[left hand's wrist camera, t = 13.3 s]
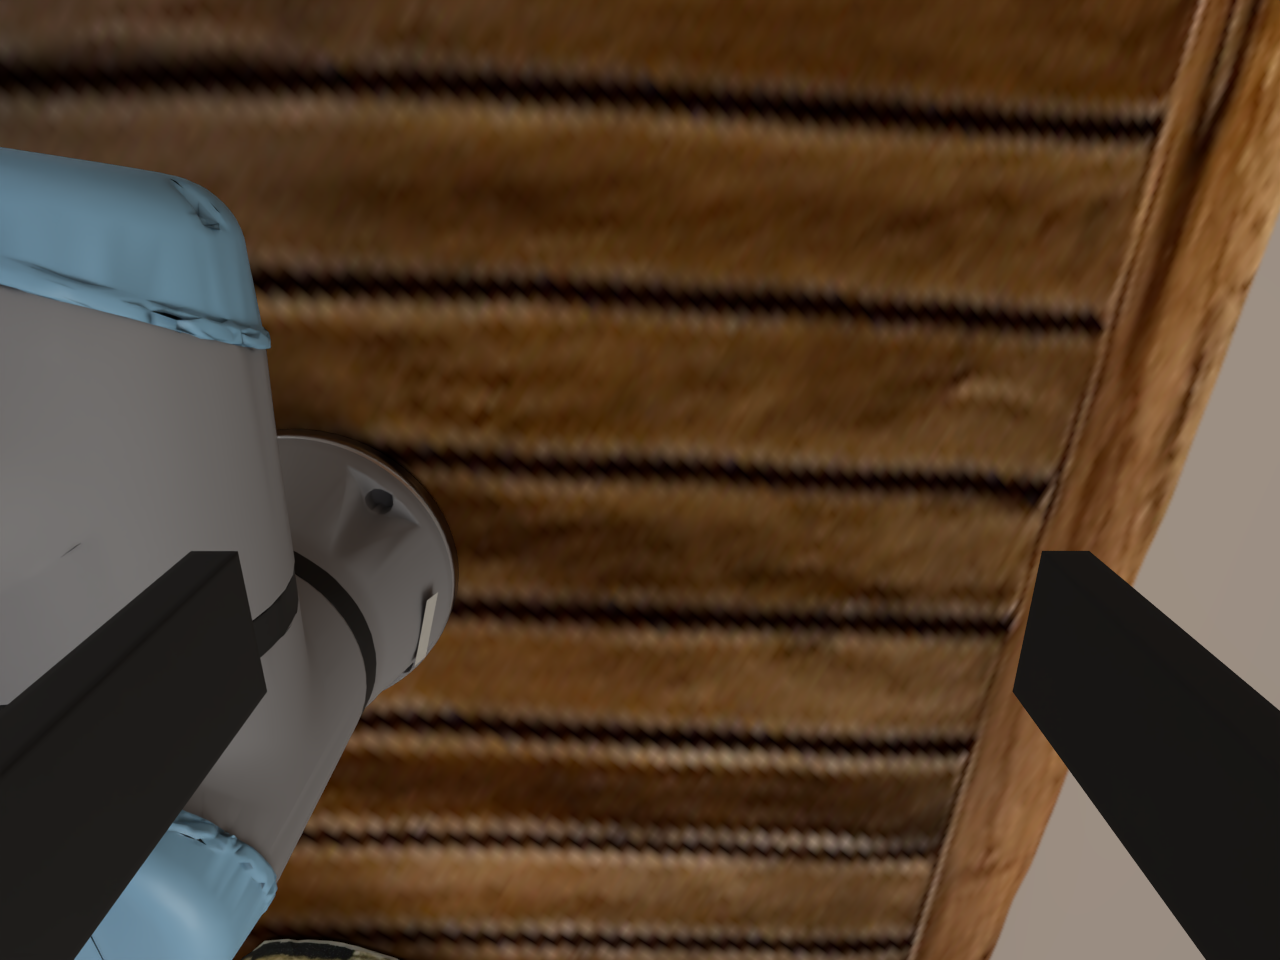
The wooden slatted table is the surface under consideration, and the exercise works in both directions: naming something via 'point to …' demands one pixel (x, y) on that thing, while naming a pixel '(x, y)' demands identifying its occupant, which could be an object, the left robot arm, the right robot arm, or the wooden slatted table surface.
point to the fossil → (312, 951)
